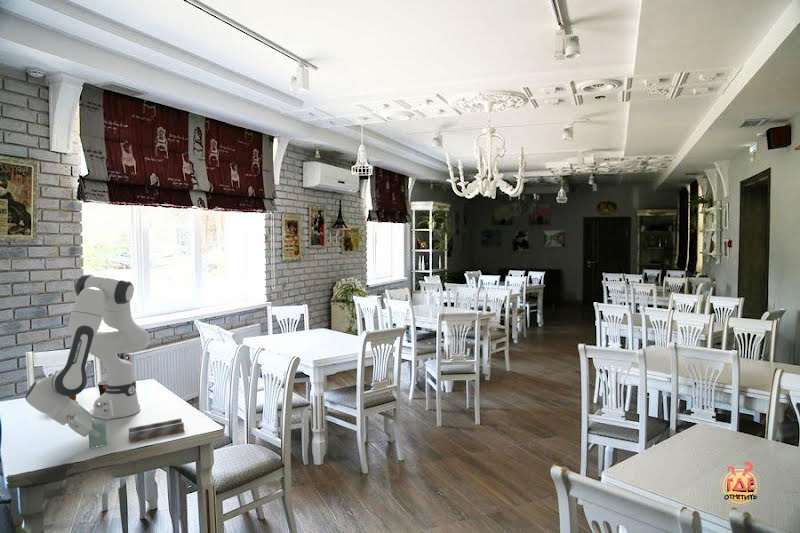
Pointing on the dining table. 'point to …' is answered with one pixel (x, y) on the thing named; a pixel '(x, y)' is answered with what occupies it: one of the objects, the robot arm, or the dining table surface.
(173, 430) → the rail
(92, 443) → the green rectangular box
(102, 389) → the coffee mug
